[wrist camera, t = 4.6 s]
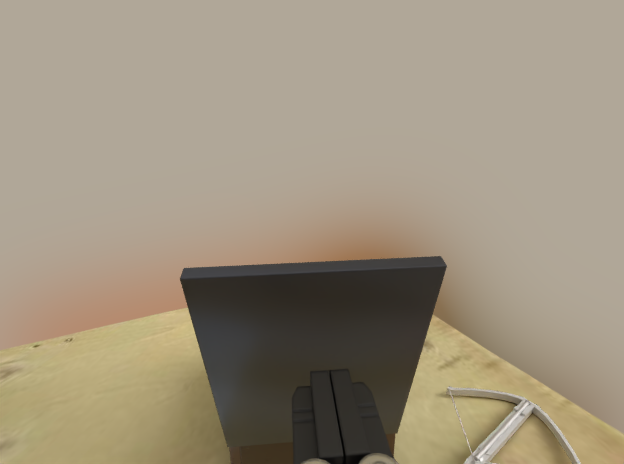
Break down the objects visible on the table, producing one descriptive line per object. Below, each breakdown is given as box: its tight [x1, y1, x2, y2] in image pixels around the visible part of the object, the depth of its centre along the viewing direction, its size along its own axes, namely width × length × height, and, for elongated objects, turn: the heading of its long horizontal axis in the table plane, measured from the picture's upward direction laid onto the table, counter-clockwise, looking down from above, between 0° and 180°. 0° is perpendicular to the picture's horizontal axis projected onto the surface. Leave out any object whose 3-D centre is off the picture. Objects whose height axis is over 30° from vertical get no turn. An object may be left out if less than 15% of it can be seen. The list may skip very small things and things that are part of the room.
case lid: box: [180, 256, 447, 447], centre depth 21 cm, size 16×13×1 cm
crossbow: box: [446, 387, 581, 464], centre depth 32 cm, size 16×13×2 cm
